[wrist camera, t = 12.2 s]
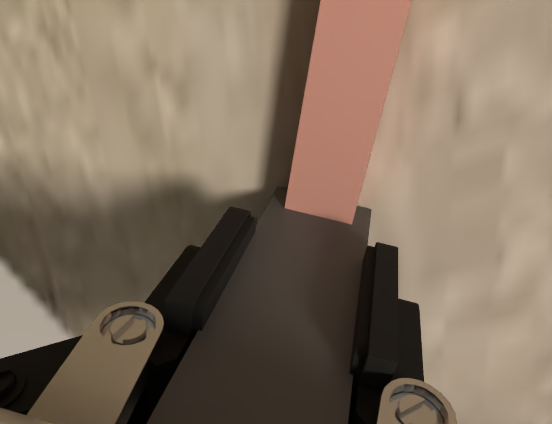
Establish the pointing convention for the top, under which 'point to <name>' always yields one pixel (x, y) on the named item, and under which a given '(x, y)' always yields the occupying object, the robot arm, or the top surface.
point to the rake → (301, 249)
